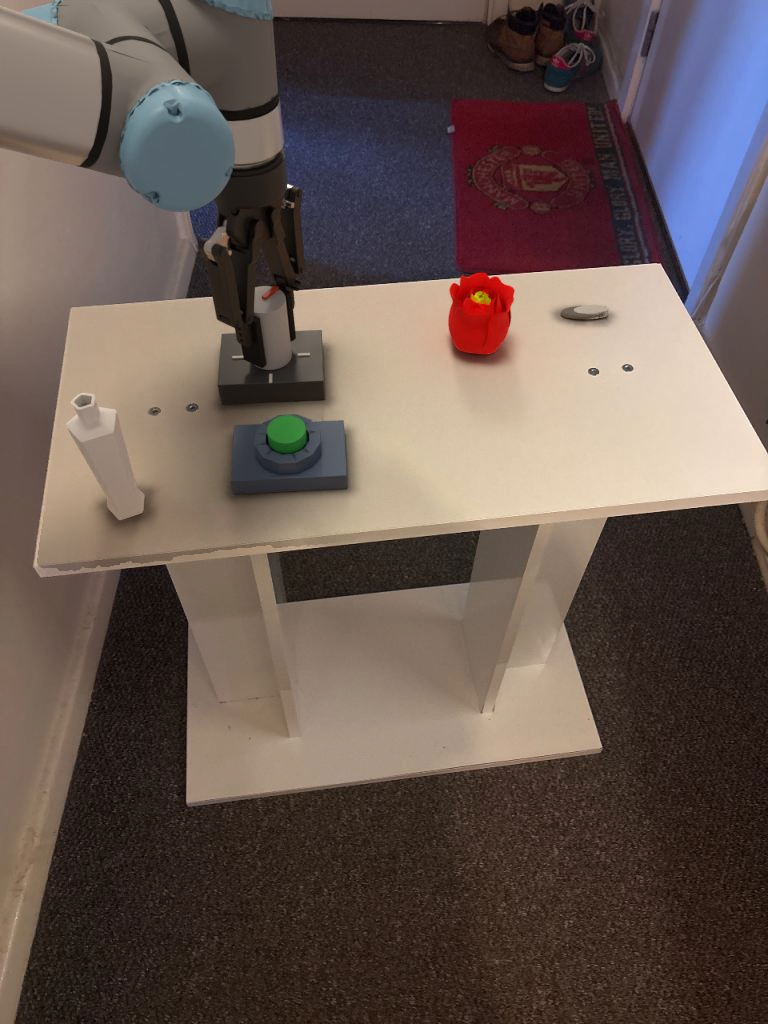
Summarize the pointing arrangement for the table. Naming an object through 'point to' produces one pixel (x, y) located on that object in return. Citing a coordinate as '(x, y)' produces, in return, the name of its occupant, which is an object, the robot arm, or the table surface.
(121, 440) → the perfume bottle
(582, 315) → the oval pebble
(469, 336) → the flower
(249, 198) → the robot arm
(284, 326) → the dial
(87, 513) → the table surface
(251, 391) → the dial panel
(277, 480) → the button block
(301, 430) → the button
